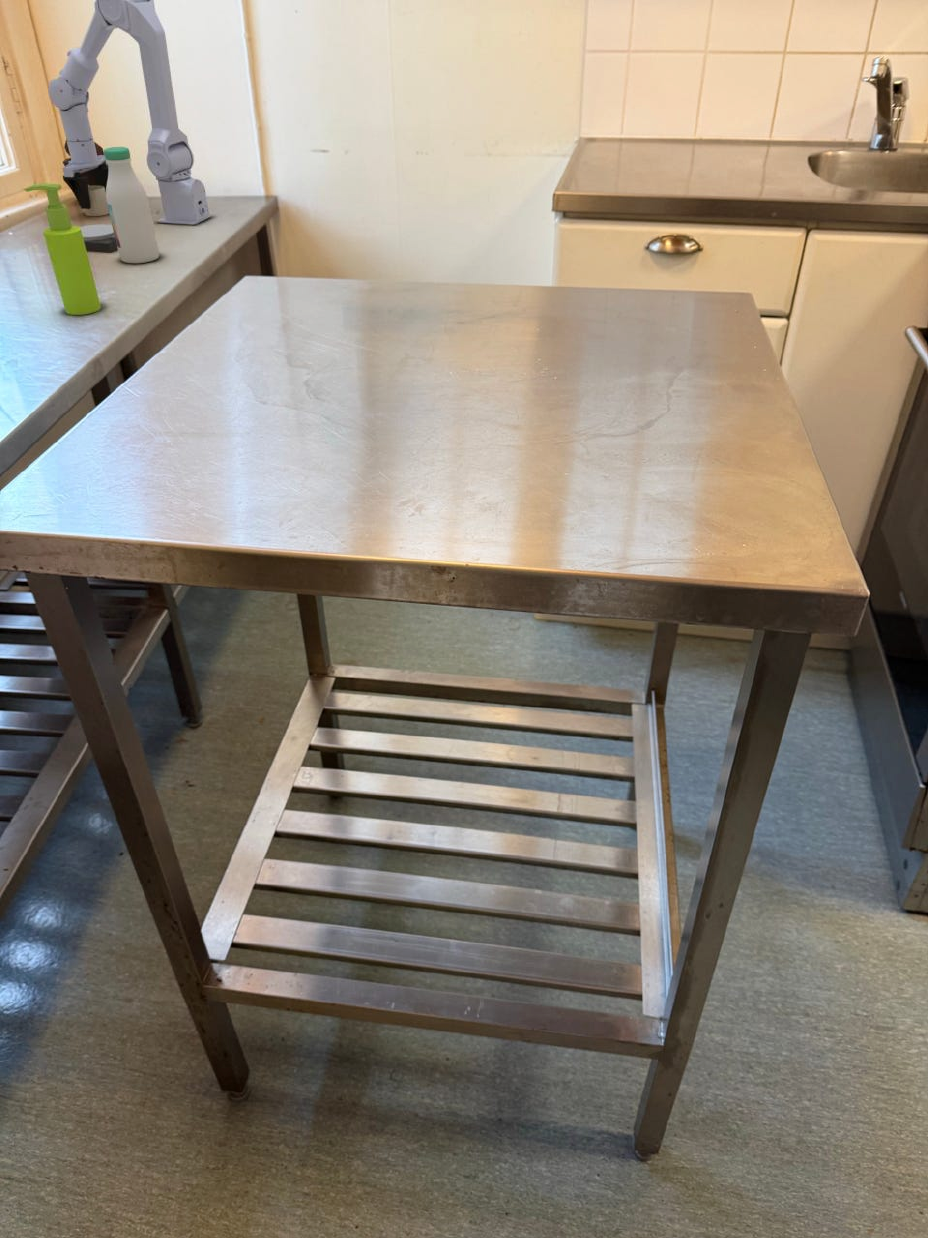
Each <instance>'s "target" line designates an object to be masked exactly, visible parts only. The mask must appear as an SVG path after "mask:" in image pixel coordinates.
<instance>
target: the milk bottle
mask: <svg viewBox="0 0 928 1238" xmlns="http://www.w3.org/2000/svg"><path fill="white" fill-rule="evenodd" d="M103 152H104V155H105V158H106V162H107V163H108V167H109V174H108V181H107V187H106V198H107V204H108V209H109V214H108V215H109V218H110V223H111V225H112V227H113V231H114V235H115V240H116V244H117V248H118V249H117V251H118V256H119V259H120V261H122V262H123V263H127V264H144V263H148V262H153V261H155V260H157V259H159V258H160V250H159V246H158V240H157V235H156V230H155V226H154V220H153V216H152V212H151V208H150V203H149V200H148V195H147V192H146V190H145V188H144V186H143V184H142V182H141V181H140V179H139V178H138V176H137V175H136V173H135V171H134V169H133V166H132V163H131V162H132V159H131V151H130V150H129V148H128V147H126V146H112V147H107V148H103Z"/></svg>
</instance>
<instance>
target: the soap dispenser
mask: <svg viewBox="0 0 928 1238" xmlns="http://www.w3.org/2000/svg"><path fill="white" fill-rule="evenodd" d="M61 189H62V184H60V183H49V182H47V183H44V182H42V183H36V184H32V185H30V186H28V187H26V188H24V191H25V192H26V193H29V192H32V191H45V192H46V197H47V200H48V205H47V206H46V207H44V210H45V214H46V217H47V221H48V224H49V228H47V229H44V230H43V236H44V240H45V243H46V244H45V245H46V247H47V251H48V254H49V258H50V262H51V265H52V268H53V273H54V276H55V279H56V283H57V286H58V289H59V290H58V291H59V293H60V297H61V301H62V305H63V307H64V311H65V313H66V314H68V315H72V316H83V315H90V314H93V313H97V312H98V311H100V310H101V308H102V305H101V302H100V298H99V293H98V290H97V286H96V281H95V278H94V274H93V271H92V266H91V263H90V259H89V255H88V251H86V247H85V243H84V239H83V235H82V231H81V228H80V227H81V226H76V225H72V221H71V217H70V213H69V209H68V206H67V205H65V204H63V203H61V200H60V196H59V193H58V191H60V190H61Z"/></svg>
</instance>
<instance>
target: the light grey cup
mask: <svg viewBox="0 0 928 1238" xmlns="http://www.w3.org/2000/svg"><path fill="white" fill-rule="evenodd" d="M88 193H89V199H90V206H91V208H90V209H83V210H84V214H85V216H86V217H87V216H88V217H102V216H106V215H110V214H109V209H108V204H107V198H106V192H105V188H104V186H99V185H94V186H89V185H88Z"/></svg>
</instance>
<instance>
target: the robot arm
mask: <svg viewBox="0 0 928 1238" xmlns="http://www.w3.org/2000/svg"><path fill="white" fill-rule="evenodd" d="M115 29H119V30H121V31H123V32H124V33H126V34H128V35H129V36H130V37H131V38H132V39H133V40H134V41H136V43H138V46H139V53H140V54H139V55H140V59H141V66H142V73H143V78H144V79H143V80H144V85H145V86H144V87H145V91H146V92H145V93H146V99H147V104H148V111H149V117H150V123H151V124H150V125H151V131H150V134H149V136H148V139H147V140H146V141H147V154H146V165H147V167H148V169H149V171H150V173H151V174H152V175H153V176H154V177H155V180H156V181H157V183H158V189H159V193H160V199H161V203H162V208H163V214H164V216H163V217H162V218H160V219H158V220H157V222H158V223H163V224H174V225H175V224H178V225H191V226H192V225H193V226H194V225H195V226H196V225H197V224H199V223H201V222H203V221H205V220H207V219H210V218H212V214H210V211H209V205H208V200H207V194H206V189H205V186H204V184H203V182H202V180H200V179H198V178H194V177H193V176H191V175H192V170H191V169H192V168H193V167H194V163H195V157H194V153H193V150H192V148H191V147H190V145H189V140H188V135H186V133H185V132H183V131H182V130H181V129H180V127H179V123H178V116H177V108H176V102H175V101H176V100H175V94H174V93H175V92H174V87H173V79H172V71H171V66H170V58H169V50H168V44H167V38H166V37H167V36H166V32H165V30H164V29H165V28H163V24H162V23H161V20H160V18H159V16H158V14H157V12H156V8H155V1H154V0H95V1H94V12H93V14H92V17H91V20H90V22H89V25H88V27H87V29H86V32H85V34H84V37H83V41H82V43H81V45H80V47H79V46H77V47H74V48H72V49H69V50H68V51H67V52H66V56H67V57H68V58H67V59H66V62H65V64H64V65H63V68H62V69H60V71H59V73H58V74H59V76H58V77H57V78H53V79H51V80H50V81H49V85H48V88H47V89H48V95H49V99H50V101H51V103H52V104H53V106H55V107H56V108H57V110H58V113H59V116H60V121H61V124H62V129H63V132H64V136H65V141H66V140H67V144H68V148H69V152H70V156H71V157H70V156H69V157H70V158H71V161H68V162H69V164H68V165H67V166H62V167H61V170H62V173H63V175H62V180H63V182H64V183H65V184H66V186H68V188H69V189H70V190H71V192H72V193H73V194H74V197H75V199H76V201H77V203H78V205H79V207H80V209H82V210H84V209H90V208H91V206H90V199H89V193H88V186H89V185H88V180H89V177H84V176H82V175H80V173H83V172H86V171H89V173H90V175H91V177H92V179H93V181H94V183H95V185H99V186H104V188H105V192H106V187H107V181H108V174H109V167H108V166H106V165H108V163H107V162H106V158H105V155H99V156H97V153H96V149H95V145H94V142H95V140H94V136H93V132H92V128H91V124H90V120H89V116H88V114H89V108H88V103H89V101H90V93H89V91H88V90H89V88H90V87H91V85H92V83H93V81H94V78H95V77H96V75H97V73H98V71H99V68H100V65H99V61H98V57H99V56H100V53H101V51H102V50H103V48H104V47H105V45H106V43H107V42H108V40H109V38H110V37H111V35H112V33H113V32H114V30H115Z"/></svg>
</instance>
